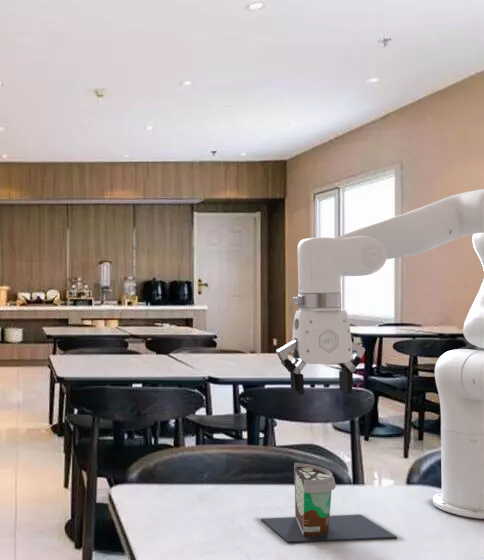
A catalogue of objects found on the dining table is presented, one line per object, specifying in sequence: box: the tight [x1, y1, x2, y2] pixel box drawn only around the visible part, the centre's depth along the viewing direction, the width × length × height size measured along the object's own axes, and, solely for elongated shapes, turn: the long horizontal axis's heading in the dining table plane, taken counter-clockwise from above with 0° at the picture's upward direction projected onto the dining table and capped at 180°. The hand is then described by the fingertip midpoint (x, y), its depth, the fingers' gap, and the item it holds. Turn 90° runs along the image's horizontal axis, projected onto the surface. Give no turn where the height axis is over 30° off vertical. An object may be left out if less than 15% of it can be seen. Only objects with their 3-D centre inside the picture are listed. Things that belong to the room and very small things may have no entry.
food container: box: [293, 462, 337, 536], centre depth 112 cm, size 12×6×10 cm, turn 168°
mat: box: [260, 514, 398, 544], centre depth 112 cm, size 20×11×1 cm, turn 97°
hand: (322, 393), depth 117 cm, fingers open, 9 cm apart
